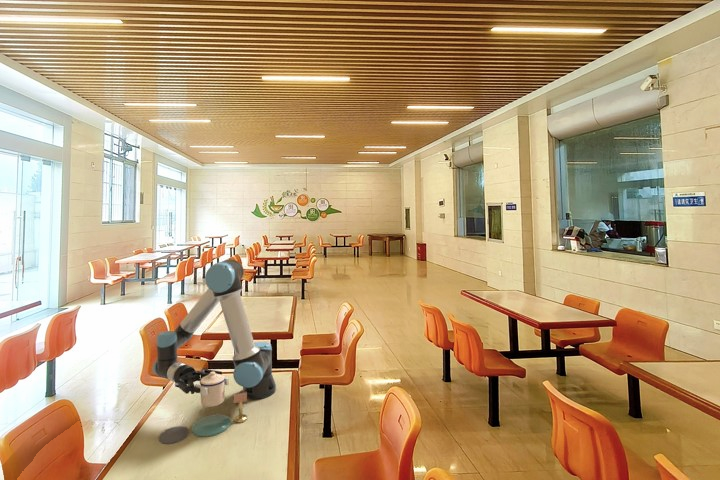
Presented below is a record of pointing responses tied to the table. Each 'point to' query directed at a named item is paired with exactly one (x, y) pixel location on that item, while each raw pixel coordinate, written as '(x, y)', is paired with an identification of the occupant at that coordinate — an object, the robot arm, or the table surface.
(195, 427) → the teal coaster
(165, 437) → the charcoal coaster
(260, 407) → the table surface
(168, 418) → the table surface
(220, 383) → the teacup with lid
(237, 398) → the brass tag sign
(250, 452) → the table surface
